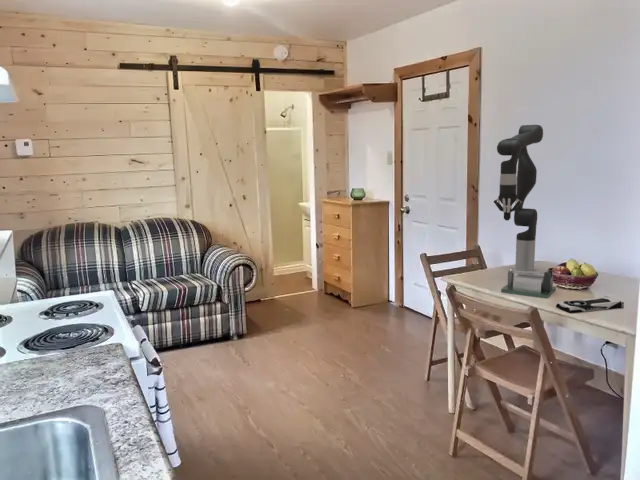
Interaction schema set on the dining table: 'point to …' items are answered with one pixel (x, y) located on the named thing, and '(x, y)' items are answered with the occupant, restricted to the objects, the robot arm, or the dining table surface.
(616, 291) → the dining table surface
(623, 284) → the dining table surface
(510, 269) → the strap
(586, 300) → the graphics card
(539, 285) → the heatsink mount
